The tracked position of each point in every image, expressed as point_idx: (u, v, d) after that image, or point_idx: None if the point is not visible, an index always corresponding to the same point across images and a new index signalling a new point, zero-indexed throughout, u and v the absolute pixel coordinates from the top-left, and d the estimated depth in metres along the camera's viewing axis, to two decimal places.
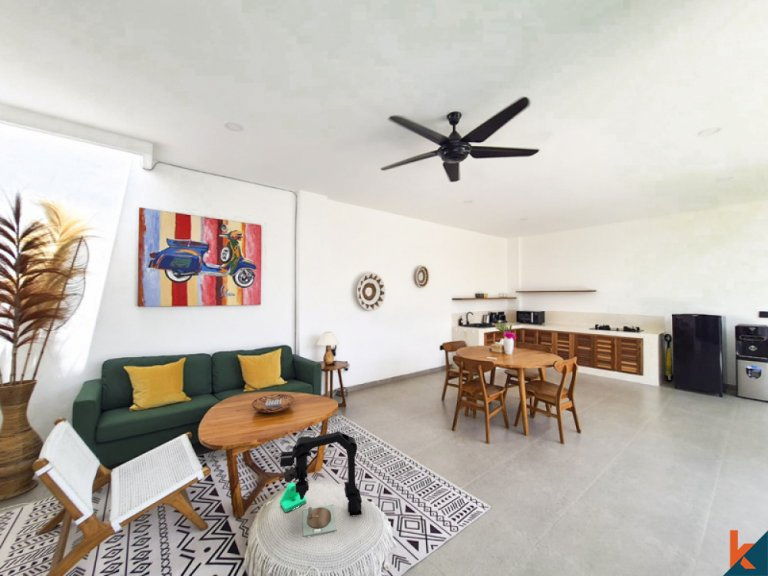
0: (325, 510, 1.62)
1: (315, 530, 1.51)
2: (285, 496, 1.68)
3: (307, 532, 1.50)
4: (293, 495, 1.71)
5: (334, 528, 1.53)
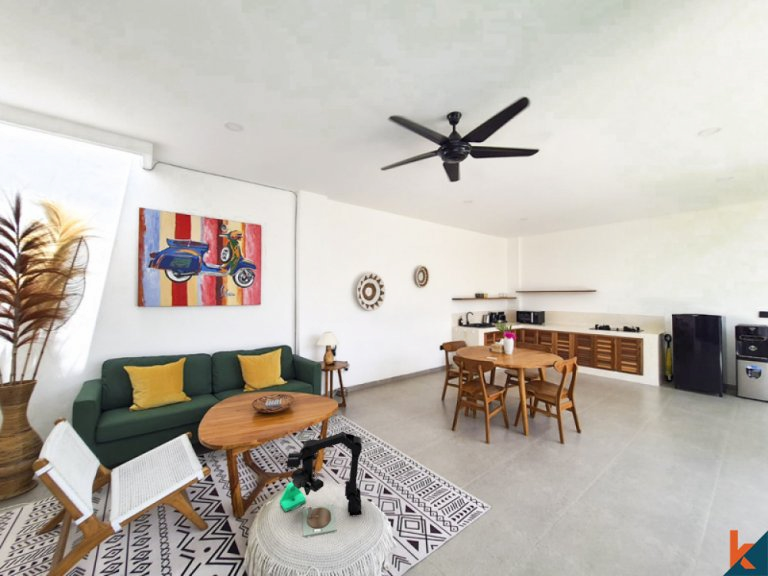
0: (325, 510, 1.62)
1: (315, 530, 1.51)
2: (285, 496, 1.69)
3: (307, 532, 1.50)
4: (293, 495, 1.71)
5: (334, 528, 1.53)
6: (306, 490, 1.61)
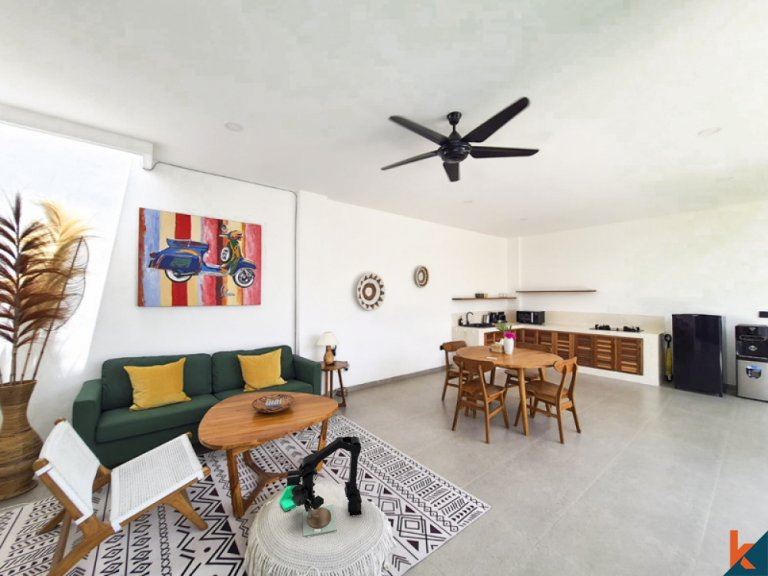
0: (325, 510, 1.62)
1: (315, 530, 1.51)
2: (285, 495, 1.69)
3: (307, 532, 1.50)
4: None
5: (334, 528, 1.53)
6: (306, 507, 1.58)
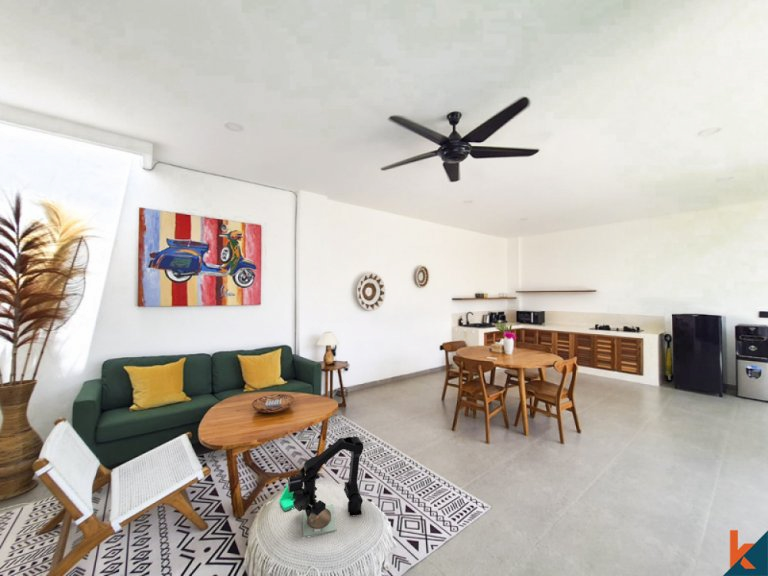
0: None
1: (315, 530, 1.51)
2: (284, 495, 1.69)
3: (307, 532, 1.50)
4: (292, 494, 1.72)
5: (334, 528, 1.53)
6: (307, 512, 1.54)
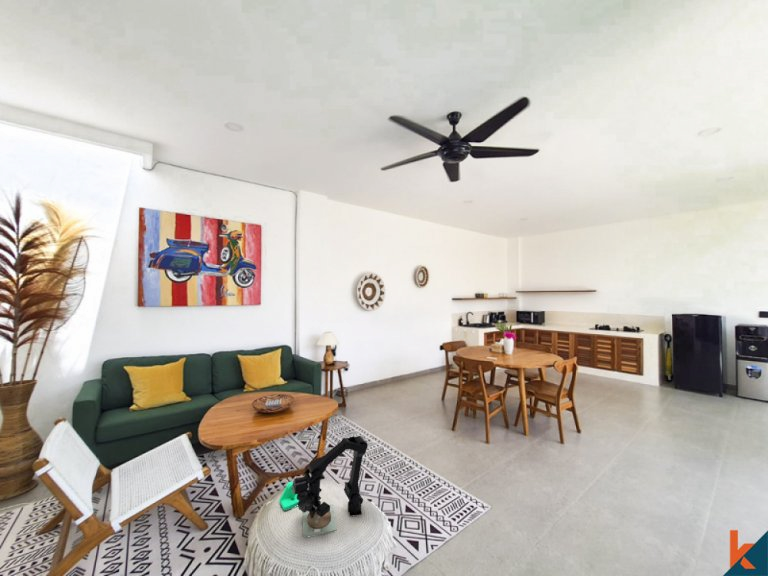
0: None
1: (315, 530, 1.51)
2: (284, 495, 1.69)
3: (307, 532, 1.50)
4: (292, 494, 1.72)
5: (334, 528, 1.53)
6: (311, 513, 1.53)
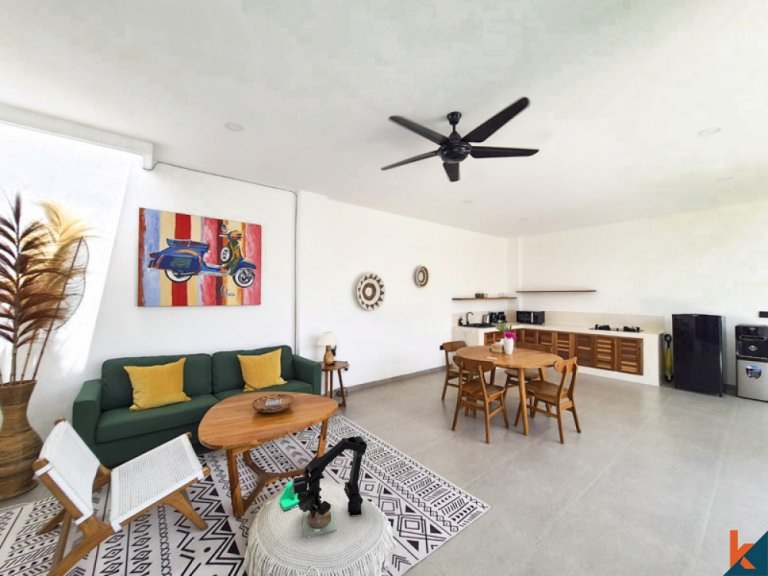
0: None
1: (315, 530, 1.51)
2: (284, 494, 1.69)
3: (307, 532, 1.50)
4: (292, 494, 1.72)
5: (334, 528, 1.53)
6: (312, 513, 1.54)
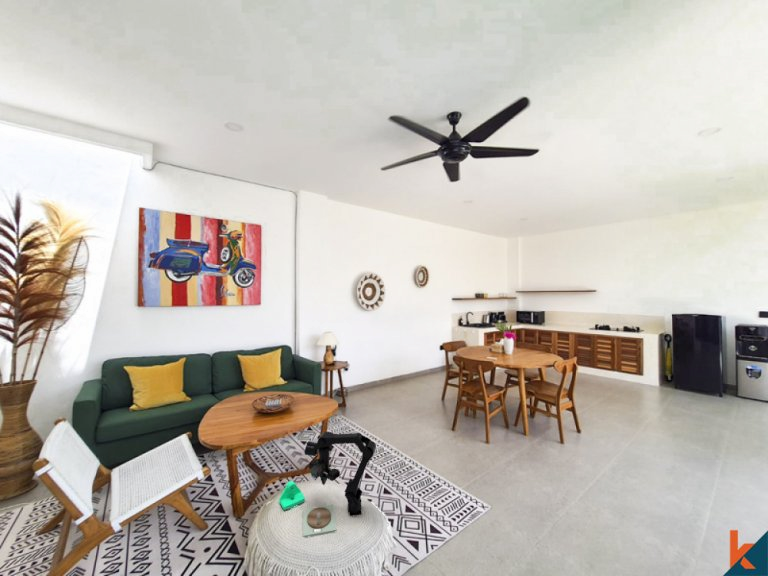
0: (313, 511, 1.61)
1: (315, 530, 1.51)
2: (284, 494, 1.70)
3: (307, 532, 1.50)
4: (292, 493, 1.72)
5: (334, 528, 1.53)
6: (323, 480, 1.67)
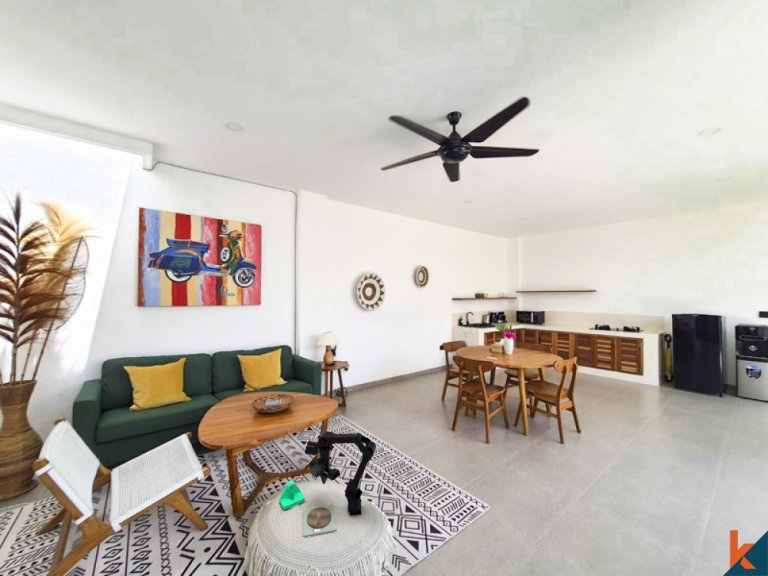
0: (313, 511, 1.61)
1: (315, 530, 1.51)
2: (284, 494, 1.70)
3: (307, 532, 1.50)
4: (292, 493, 1.73)
5: (334, 528, 1.53)
6: (323, 479, 1.67)
